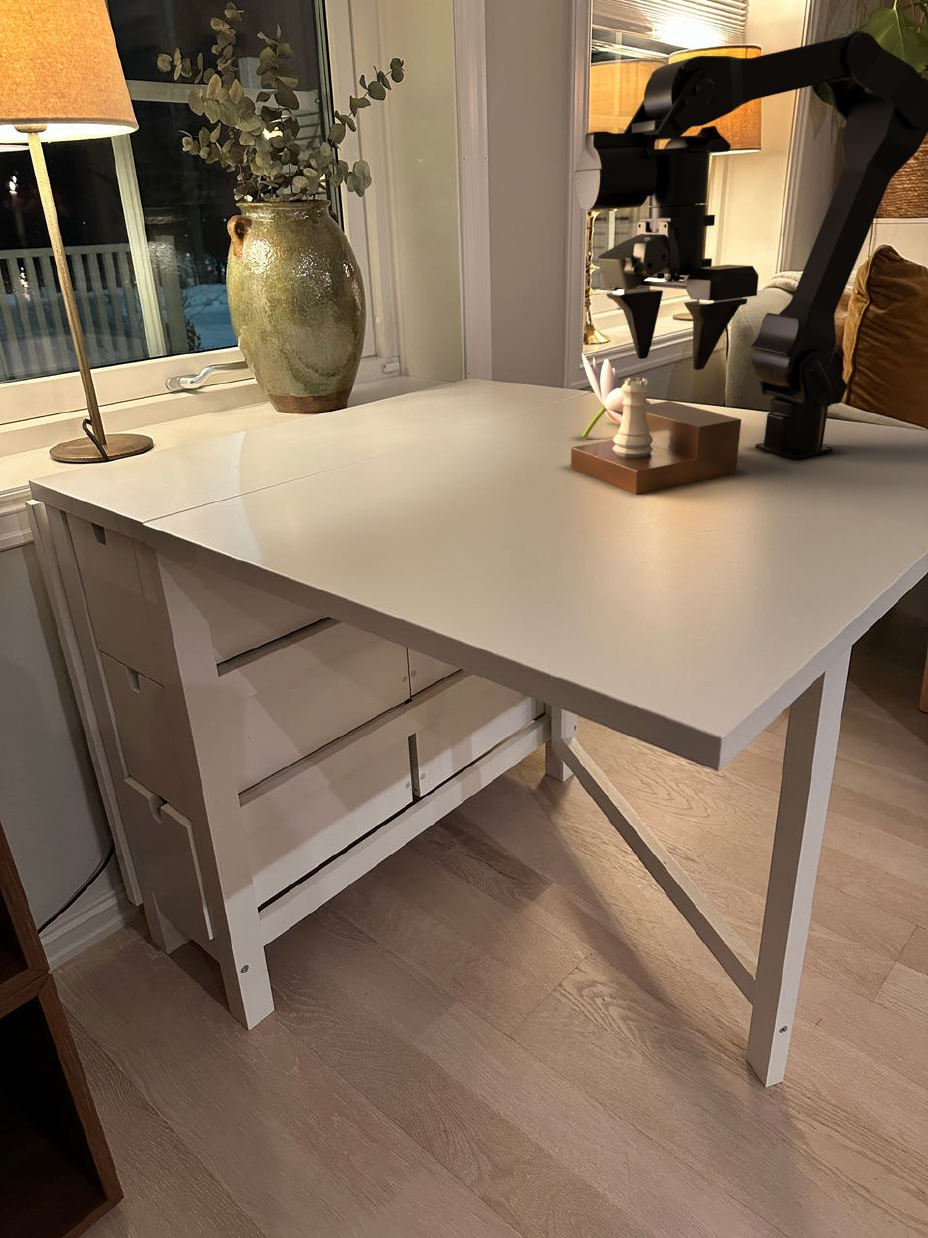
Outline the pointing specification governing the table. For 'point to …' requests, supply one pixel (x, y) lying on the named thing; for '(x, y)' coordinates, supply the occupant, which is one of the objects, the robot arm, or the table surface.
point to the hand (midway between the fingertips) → (669, 363)
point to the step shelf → (667, 450)
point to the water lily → (605, 392)
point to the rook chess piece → (634, 421)
